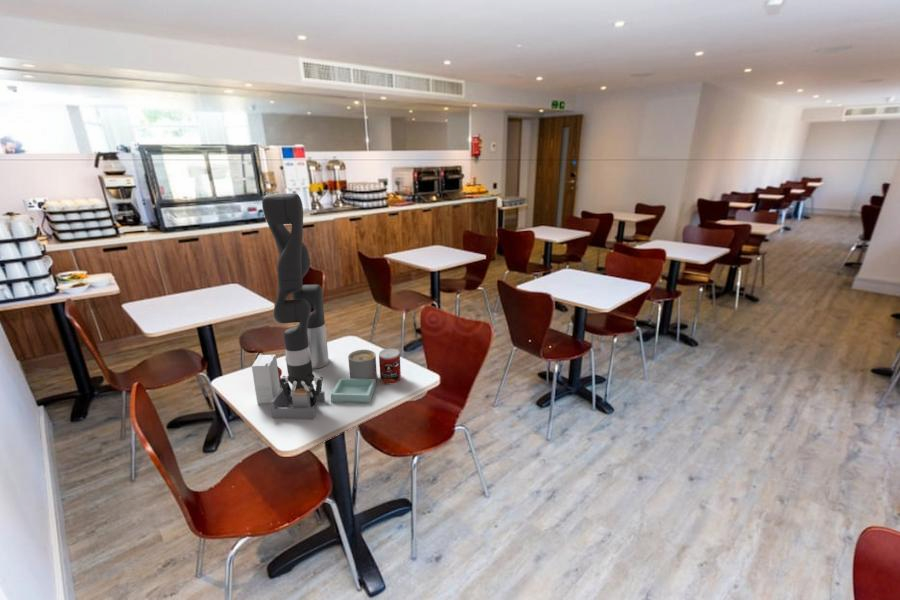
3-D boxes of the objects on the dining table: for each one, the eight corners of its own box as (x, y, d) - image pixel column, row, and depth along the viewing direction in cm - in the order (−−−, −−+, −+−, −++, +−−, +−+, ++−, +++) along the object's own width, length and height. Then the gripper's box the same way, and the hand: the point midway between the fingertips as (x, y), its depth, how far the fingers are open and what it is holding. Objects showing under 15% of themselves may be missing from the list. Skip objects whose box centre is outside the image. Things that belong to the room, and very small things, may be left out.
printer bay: (286, 399, 145) (284, 384, 143) (325, 400, 145) (323, 384, 143) (272, 418, 135) (270, 401, 133) (314, 419, 134) (312, 403, 132)
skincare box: (264, 391, 150) (258, 354, 145) (281, 390, 150) (276, 353, 145) (256, 404, 142) (250, 365, 137) (275, 403, 142) (269, 364, 138)
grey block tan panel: (301, 403, 142) (298, 384, 140) (315, 404, 142) (313, 384, 140) (294, 414, 137) (291, 394, 134) (309, 414, 137) (306, 394, 134)
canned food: (379, 384, 155) (377, 357, 151) (381, 374, 162) (380, 348, 158) (399, 384, 155) (398, 357, 151) (401, 373, 162) (400, 348, 159)
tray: (340, 385, 154) (340, 378, 153) (375, 386, 153) (375, 379, 152) (331, 402, 143) (330, 394, 143) (369, 403, 143) (368, 395, 142)
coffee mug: (380, 382, 156) (378, 358, 153) (353, 388, 152) (351, 363, 149) (370, 366, 168) (368, 344, 164) (345, 372, 163) (343, 348, 160)
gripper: (324, 354, 137) (329, 399, 142) (281, 353, 137) (288, 398, 143) (316, 365, 130) (322, 412, 135) (271, 364, 130) (278, 411, 136)
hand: (304, 405), depth 139 cm, fingers closed on grey block tan panel, 5 cm apart
